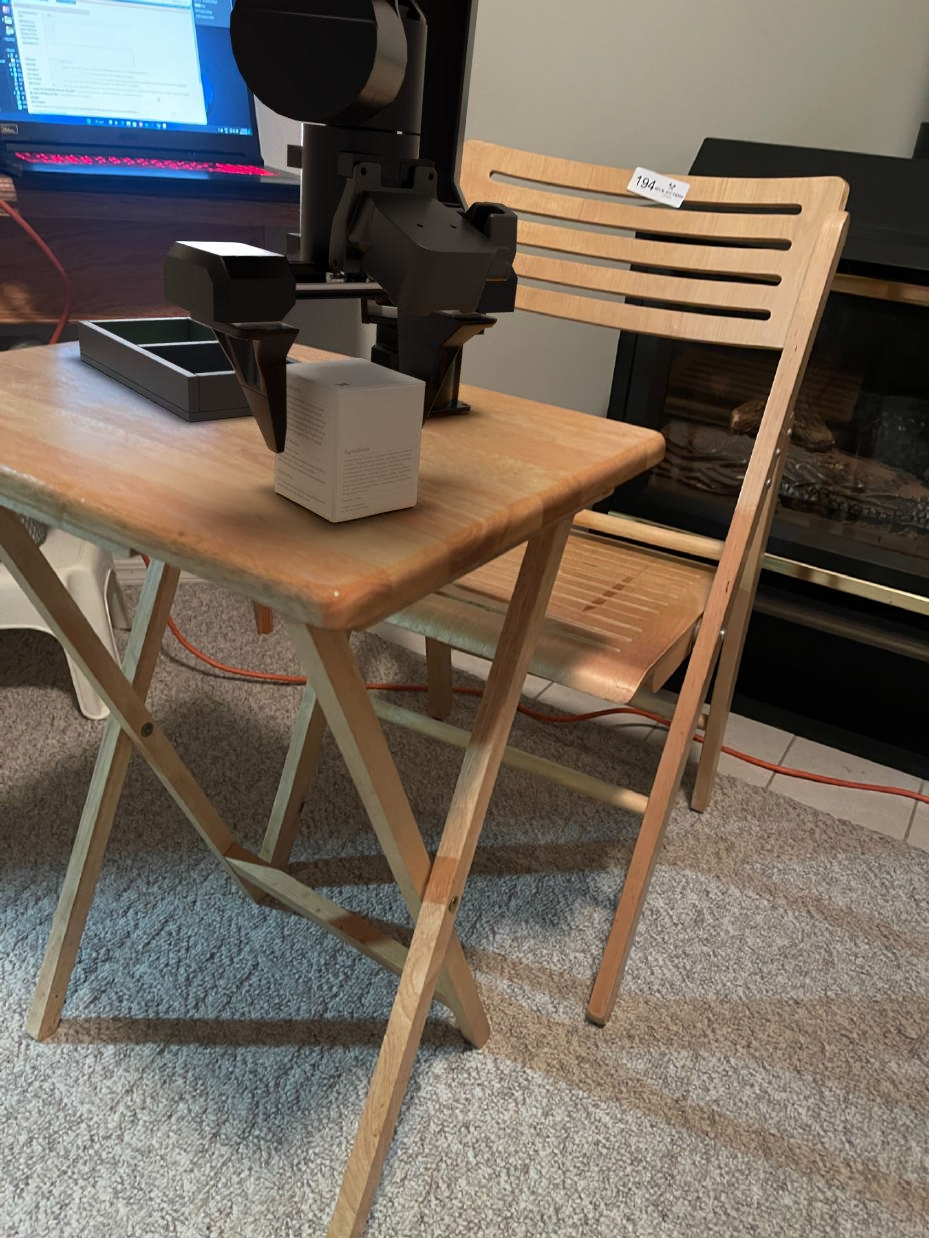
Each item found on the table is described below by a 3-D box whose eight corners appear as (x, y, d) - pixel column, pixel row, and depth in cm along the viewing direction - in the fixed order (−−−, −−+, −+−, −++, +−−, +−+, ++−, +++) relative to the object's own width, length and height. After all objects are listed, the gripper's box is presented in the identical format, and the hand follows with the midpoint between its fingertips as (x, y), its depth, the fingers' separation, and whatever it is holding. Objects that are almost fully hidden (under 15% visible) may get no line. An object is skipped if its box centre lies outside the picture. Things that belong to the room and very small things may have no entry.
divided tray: (194, 352, 83) (193, 316, 82) (314, 408, 71) (315, 367, 69) (80, 359, 77) (76, 320, 76) (189, 422, 64) (187, 377, 63)
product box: (419, 508, 54) (429, 381, 51) (331, 526, 50) (336, 390, 47) (357, 476, 58) (362, 356, 55) (270, 491, 54) (271, 363, 51)
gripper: (280, 120, 35) (277, 516, 42) (612, 157, 46) (565, 462, 53) (149, 106, 42) (165, 445, 49) (464, 141, 53) (440, 411, 60)
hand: (347, 441), depth 53 cm, fingers open, 9 cm apart
